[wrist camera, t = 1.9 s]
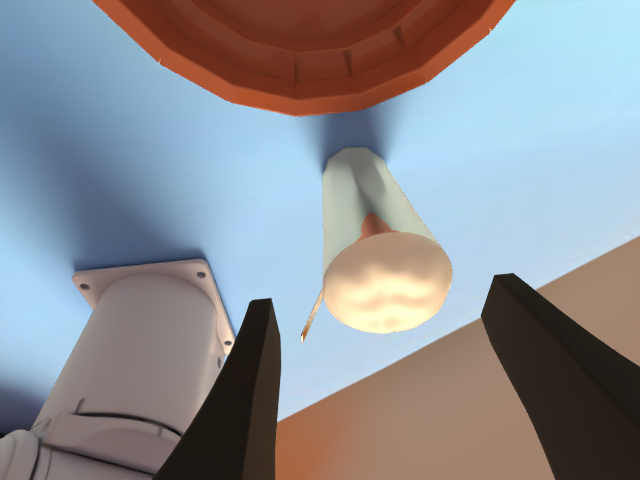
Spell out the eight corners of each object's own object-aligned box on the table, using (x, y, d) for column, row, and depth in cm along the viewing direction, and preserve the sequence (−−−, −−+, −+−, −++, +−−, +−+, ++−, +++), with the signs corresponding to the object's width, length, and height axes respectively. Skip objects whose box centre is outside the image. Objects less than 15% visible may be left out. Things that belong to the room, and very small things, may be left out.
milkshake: (292, 134, 17) (298, 287, 9) (402, 131, 17) (495, 276, 10) (295, 212, 20) (303, 379, 12) (390, 208, 20) (455, 368, 13)
